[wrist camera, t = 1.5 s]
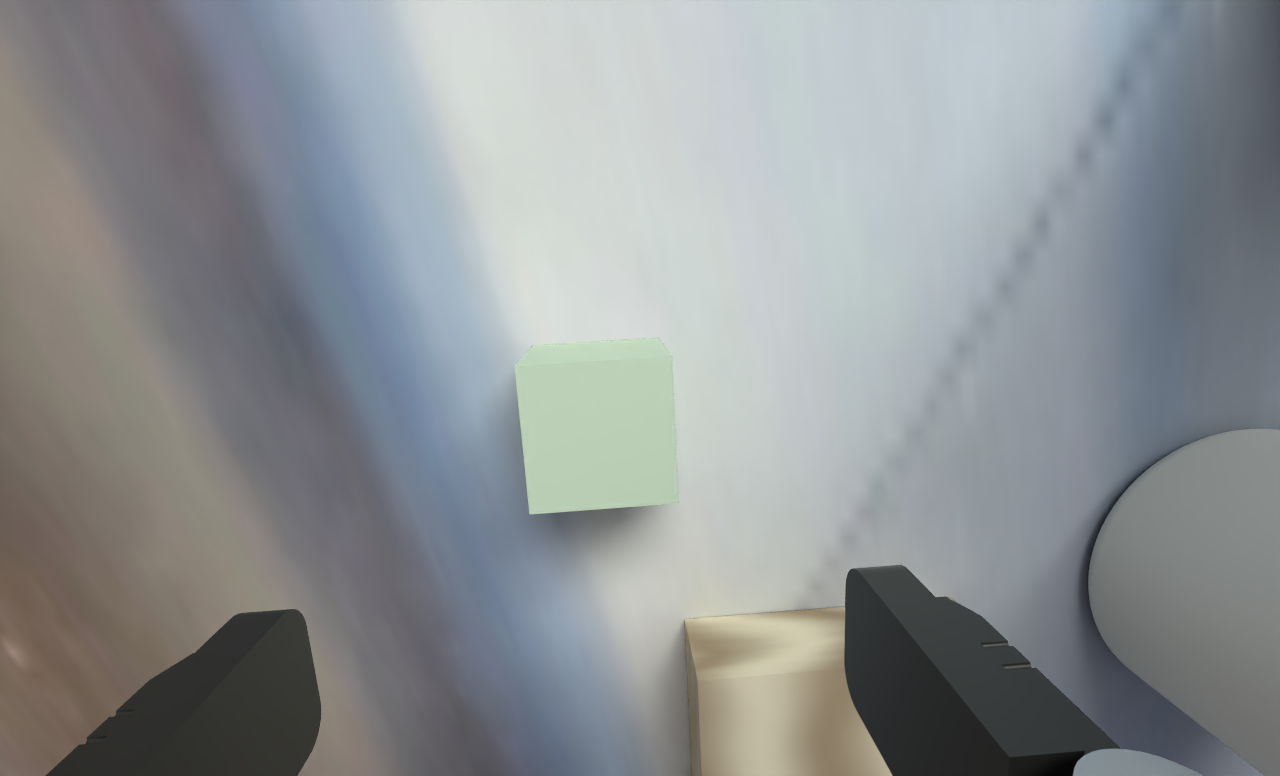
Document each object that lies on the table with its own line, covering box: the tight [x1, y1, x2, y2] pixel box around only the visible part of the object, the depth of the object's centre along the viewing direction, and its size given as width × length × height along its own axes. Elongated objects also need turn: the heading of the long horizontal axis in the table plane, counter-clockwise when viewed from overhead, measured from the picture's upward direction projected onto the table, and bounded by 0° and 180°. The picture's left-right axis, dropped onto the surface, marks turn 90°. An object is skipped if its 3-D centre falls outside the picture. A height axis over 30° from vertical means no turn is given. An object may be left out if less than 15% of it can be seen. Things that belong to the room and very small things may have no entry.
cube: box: [514, 337, 679, 514], centre depth 22 cm, size 5×5×5 cm
